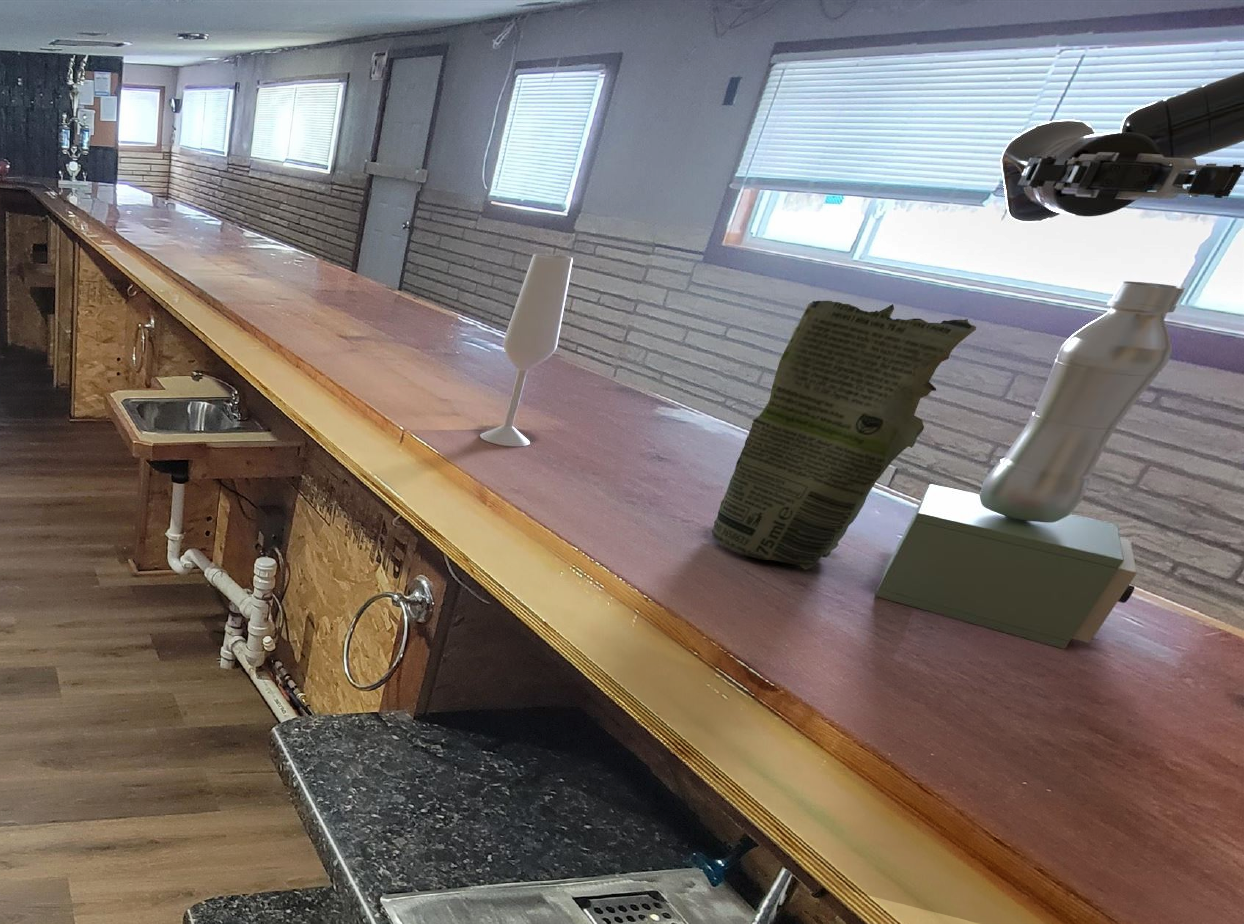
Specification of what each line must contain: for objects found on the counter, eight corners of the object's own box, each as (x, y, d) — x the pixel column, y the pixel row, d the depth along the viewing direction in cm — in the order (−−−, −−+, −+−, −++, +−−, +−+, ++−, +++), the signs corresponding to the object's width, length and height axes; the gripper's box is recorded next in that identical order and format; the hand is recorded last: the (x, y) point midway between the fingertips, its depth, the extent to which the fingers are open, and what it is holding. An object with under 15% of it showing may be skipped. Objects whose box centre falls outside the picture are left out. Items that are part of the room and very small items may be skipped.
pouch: (701, 524, 100) (794, 289, 88) (824, 543, 96) (939, 301, 84) (720, 562, 91) (826, 306, 78) (857, 584, 87) (991, 320, 75)
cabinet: (1063, 607, 85) (1118, 523, 81) (1064, 649, 77) (1124, 560, 73) (889, 561, 93) (929, 483, 88) (874, 596, 85) (918, 512, 81)
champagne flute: (492, 429, 130) (537, 251, 118) (537, 440, 126) (589, 257, 114) (471, 437, 125) (516, 254, 113) (518, 449, 121) (569, 261, 109)
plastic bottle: (952, 501, 84) (1074, 276, 74) (1030, 507, 83) (1164, 281, 73) (1000, 527, 79) (1139, 288, 69) (1084, 534, 78) (1238, 294, 68)
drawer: (1104, 609, 83) (1149, 542, 79) (1108, 648, 76) (1157, 577, 73) (920, 562, 91) (954, 500, 87) (909, 594, 84) (945, 527, 80)
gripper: (1162, 220, 91) (1234, 230, 79) (985, 208, 97) (1026, 217, 85) (1210, 136, 87) (1293, 133, 75) (1023, 130, 93) (1072, 126, 81)
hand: (1152, 178), depth 80 cm, fingers open, 8 cm apart
